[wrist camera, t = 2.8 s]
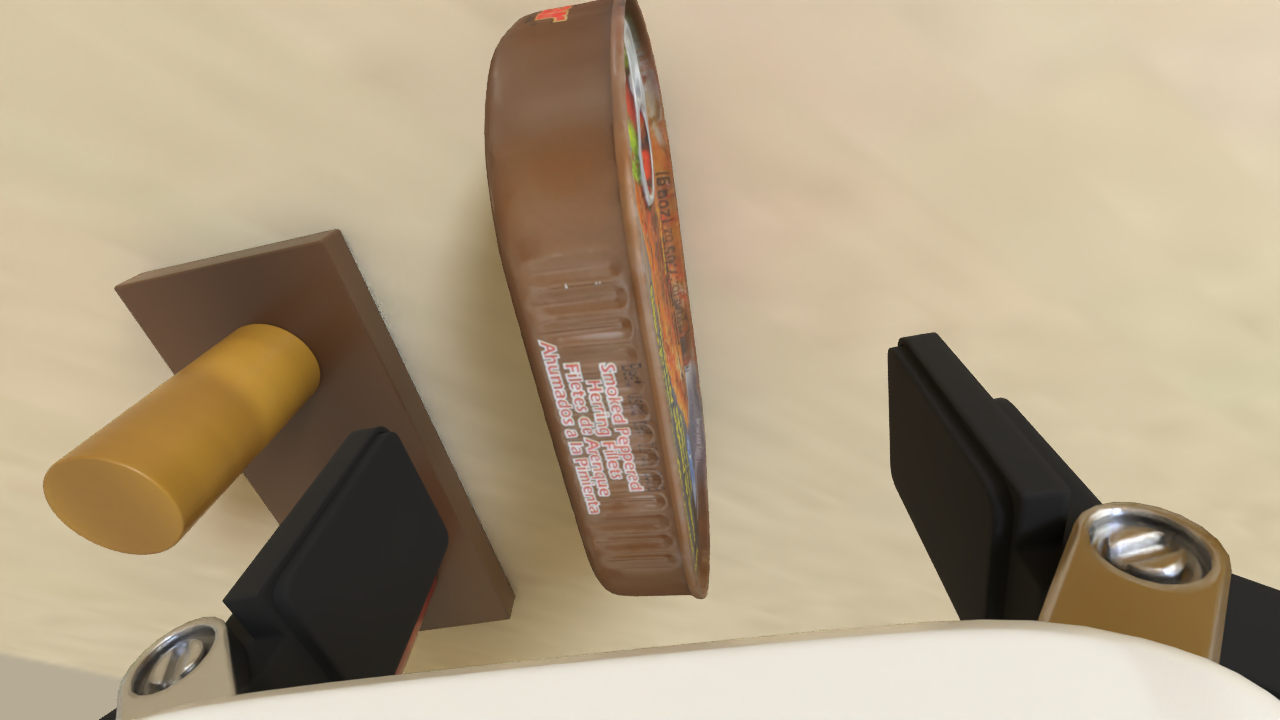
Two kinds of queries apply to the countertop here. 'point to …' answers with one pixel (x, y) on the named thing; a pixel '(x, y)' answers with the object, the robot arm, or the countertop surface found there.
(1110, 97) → the countertop surface
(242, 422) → the rod stand
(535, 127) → the tin
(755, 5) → the countertop surface
